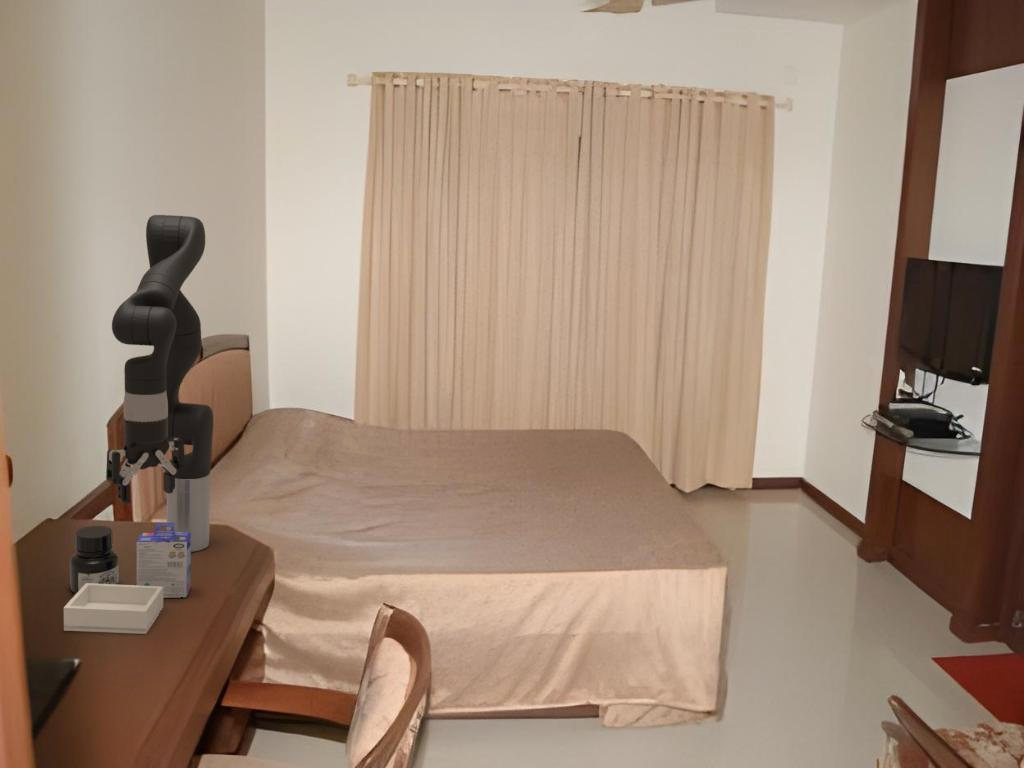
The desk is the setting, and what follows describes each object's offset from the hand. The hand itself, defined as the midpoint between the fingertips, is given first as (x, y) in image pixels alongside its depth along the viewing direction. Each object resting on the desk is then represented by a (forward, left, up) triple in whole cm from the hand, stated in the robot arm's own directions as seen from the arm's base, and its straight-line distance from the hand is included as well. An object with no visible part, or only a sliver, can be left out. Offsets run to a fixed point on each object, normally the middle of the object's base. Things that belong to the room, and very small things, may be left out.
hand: (147, 497), depth 171 cm
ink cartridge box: (-10, 0, -24) cm, 26 cm away
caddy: (+2, -5, -24) cm, 24 cm away
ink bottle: (-11, -14, -24) cm, 30 cm away
